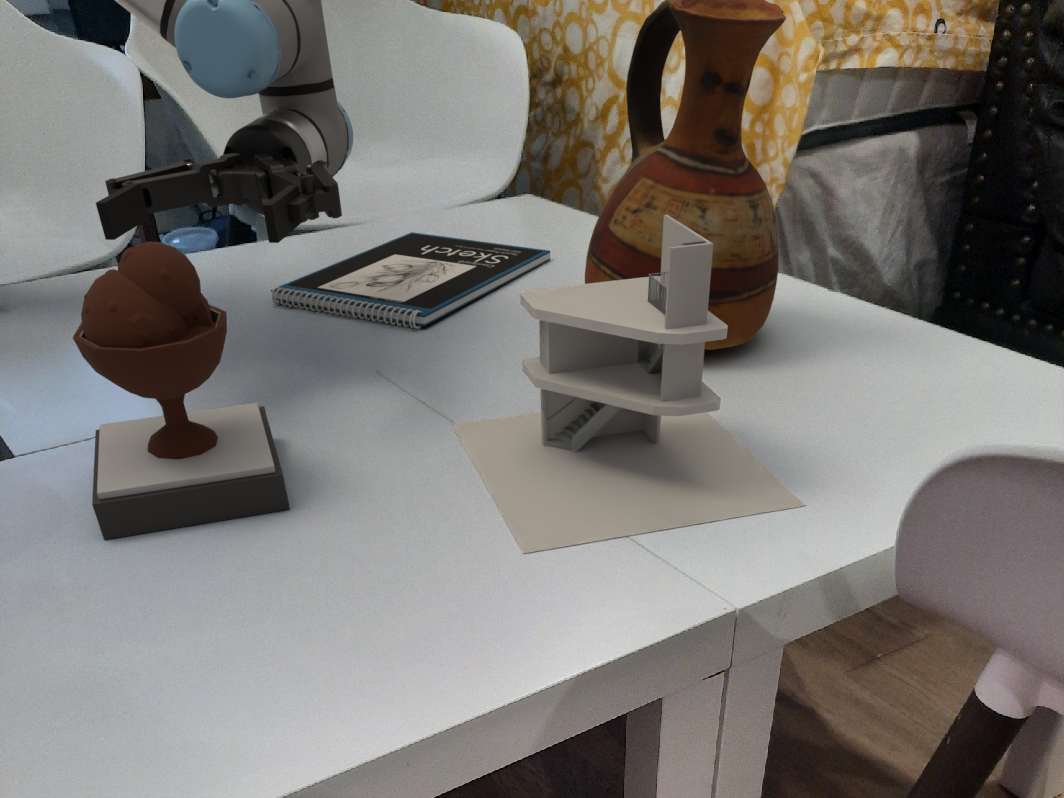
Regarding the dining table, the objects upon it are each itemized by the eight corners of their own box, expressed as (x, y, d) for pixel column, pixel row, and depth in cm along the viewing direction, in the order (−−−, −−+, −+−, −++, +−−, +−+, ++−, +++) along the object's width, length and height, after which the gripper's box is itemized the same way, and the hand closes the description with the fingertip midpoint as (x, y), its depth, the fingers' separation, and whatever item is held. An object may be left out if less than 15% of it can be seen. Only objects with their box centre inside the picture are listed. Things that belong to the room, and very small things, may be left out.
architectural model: (684, 391, 96) (700, 181, 84) (805, 505, 78) (846, 259, 66) (451, 424, 91) (433, 206, 80) (523, 553, 73) (514, 297, 62)
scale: (106, 462, 86) (93, 422, 84) (270, 438, 90) (262, 399, 87) (104, 540, 76) (89, 497, 74) (290, 509, 79) (281, 467, 77)
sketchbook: (550, 261, 130) (550, 244, 128) (420, 334, 110) (418, 314, 108) (412, 241, 138) (410, 225, 137) (267, 305, 118) (264, 286, 116)
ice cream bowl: (206, 405, 86) (159, 215, 77) (278, 443, 80) (237, 242, 71) (88, 444, 81) (23, 245, 71) (156, 488, 75) (94, 277, 65)
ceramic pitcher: (683, 386, 97) (710, 6, 77) (544, 334, 108) (538, -7, 89) (809, 336, 106) (861, -13, 87) (669, 293, 118) (688, -23, 99)
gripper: (408, 208, 96) (348, 276, 80) (159, 205, 99) (53, 269, 83) (399, 118, 91) (334, 171, 75) (138, 117, 94) (21, 167, 78)
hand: (186, 223), depth 79 cm, fingers open, 13 cm apart
